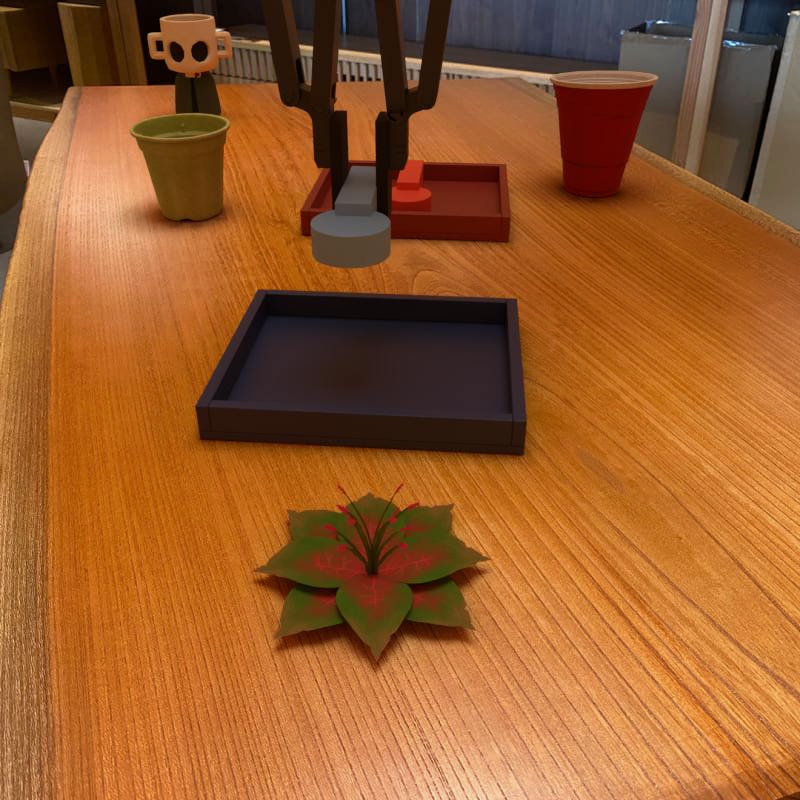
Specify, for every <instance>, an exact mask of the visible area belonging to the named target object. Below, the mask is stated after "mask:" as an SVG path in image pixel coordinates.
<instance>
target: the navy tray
mask: <svg viewBox="0 0 800 800" xmlns="http://www.w3.org/2000/svg"><path fill="white" fill-rule="evenodd" d="M523 368H524V367H523V356H522V343H521V330H520V317H519V305H518V299H517V298H516V297H515V298H514V297H513V298H512V297H507V298H506V297H485V296H482V297H481V296H459V295H457V296H456V295H431V294H405V293H404V294H403V293H402V294H401V293H378V292H377V293H375V292H350V291H349V292H348V291H324V290H323V291H321V290H297V289H296V290H294V289H293V290H292V289H268V288H267V289H265V288H258V289H257V290H256V292H255V295H254V296H253V298H252V300H251V302H250V303H249V304H248V307H247V309H246V311H245V313H244V314H243V316H242V318H241V320H240V322H239V324H238V326H237V328H236V329H235V331H234V333H233V335H232V337H231V339H230V340H229V343H228V344H227V346H226V348H225V350H224V352H223V354H222V356H221V358H220V359H219V361H218V363H217V364H216V367H215V369H214V370H213V372H212V374H211V376H210V378H209V379H208V381H207V383H206V385H205V387H204V389H203V390H202V393H201V395H200V396H199V398H198V400H197V402H196V404H195V405H194V408H195V414H196V420H197V421H196V422H197V428H198V435H199V439H200V440H212V441H213V440H215V441H216V440H217V441H234V442H235V441H236V442H254V443H256V442H257V443H274V444H275V443H277V444H293V445H294V444H297V445H316V446H317V445H319V446H335V447H355V448H356V447H357V448H375V449H376V448H378V449H397V450H419V451H436V452H438V451H439V452H457V453H458V452H459V453H475V454H476V453H478V454H499V455H500V454H501V455H521V456H523V455H524V454H525V446H526V436H527V425H528V417H527V406H526V405H527V404H526V393H525V380H524V369H523Z"/></svg>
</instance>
